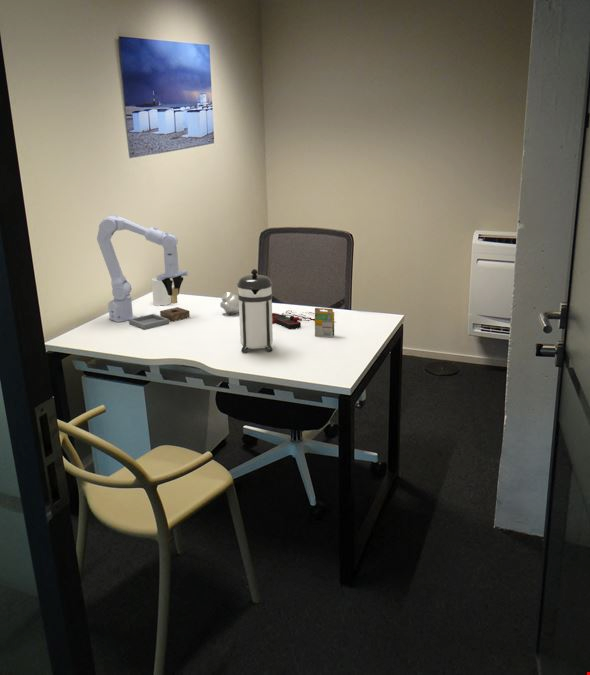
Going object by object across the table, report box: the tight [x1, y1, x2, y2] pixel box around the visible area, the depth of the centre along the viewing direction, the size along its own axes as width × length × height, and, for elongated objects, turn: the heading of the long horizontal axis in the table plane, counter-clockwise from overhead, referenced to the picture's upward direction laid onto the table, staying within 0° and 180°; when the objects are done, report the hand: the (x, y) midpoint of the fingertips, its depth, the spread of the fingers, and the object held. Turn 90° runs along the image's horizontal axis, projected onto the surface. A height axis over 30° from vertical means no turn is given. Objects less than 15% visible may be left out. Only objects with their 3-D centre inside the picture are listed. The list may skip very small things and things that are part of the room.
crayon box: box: [314, 307, 335, 338], centre depth 264 cm, size 7×3×12 cm, turn 74°
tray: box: [128, 313, 170, 330], centre depth 285 cm, size 12×12×2 cm
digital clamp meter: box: [272, 310, 315, 330], centre depth 287 cm, size 23×4×25 cm
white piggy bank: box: [219, 291, 239, 315], centre depth 297 cm, size 9×10×10 cm
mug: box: [151, 277, 174, 306], centre depth 314 cm, size 12×8×12 cm
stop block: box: [159, 306, 191, 322], centre depth 293 cm, size 9×9×3 cm
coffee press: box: [236, 268, 274, 354], centre depth 249 cm, size 17×16×30 cm
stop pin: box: [170, 287, 180, 305], centre depth 291 cm, size 3×3×6 cm
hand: (173, 294), depth 291 cm, fingers closed on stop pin, 3 cm apart
